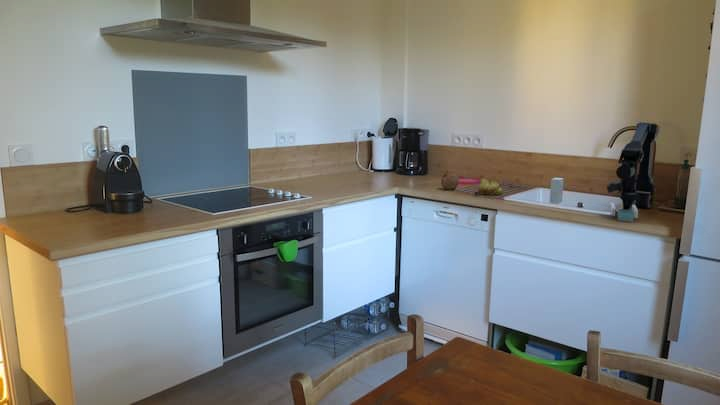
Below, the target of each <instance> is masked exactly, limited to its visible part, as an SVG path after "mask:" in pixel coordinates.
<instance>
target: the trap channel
mask: <svg viewBox="0 0 720 405" xmlns="http://www.w3.org/2000/svg"><path fill="white" fill-rule="evenodd" d="M609 208H610V209H609V210H610V213H611V212H612V214H611V217H616V212H615V211H616V210H618V209H619V208H618V209H617V208H616V206H615V203H614V202H611V203H610V207H609ZM631 210H633V212H634V218H633V219H638V216H639V210H638V207H636V206H635V205H633V204H632V205H631Z"/></svg>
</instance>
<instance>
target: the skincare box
mask: <svg viewBox="0 0 720 405" xmlns="http://www.w3.org/2000/svg"><path fill="white" fill-rule="evenodd" d="M550 180H551V181H550V189H549V191H550V192H549V202H548V203H549V204H553V205H554V204H555V205H558V204H562V202H563V193H564V180H565V178H563V177H562V178H561V177H553V178H551V179H550Z"/></svg>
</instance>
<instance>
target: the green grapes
mask: <svg viewBox="0 0 720 405" xmlns="http://www.w3.org/2000/svg"><path fill="white" fill-rule="evenodd" d="M477 192H478V194H480V195H487V196H488V195H489V196H497V195H502V194H503V188H501V187H500V184H499V183H498V182H497V181H493V180H492V181H490V180H488V179H487V178H485V177H483V178H481V179H480V180H479V185H478V188H477Z"/></svg>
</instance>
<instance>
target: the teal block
mask: <svg viewBox="0 0 720 405" xmlns="http://www.w3.org/2000/svg"><path fill="white" fill-rule="evenodd" d="M634 219H635V218H634V212H633V210H632V209H629V210H626V209H623V208H618V212H617V221H620V222H628V223H629V222H630V223H631V222H632V223H633V222H634Z"/></svg>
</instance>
